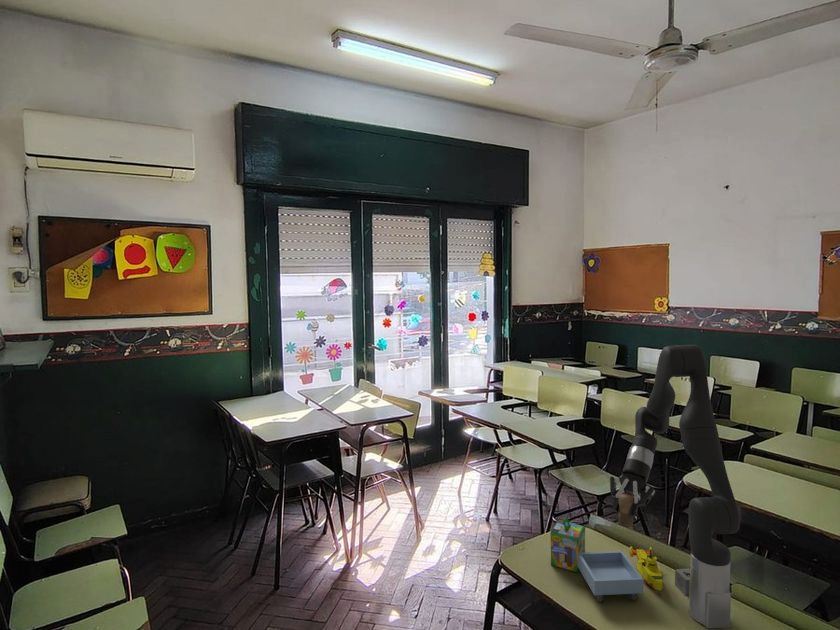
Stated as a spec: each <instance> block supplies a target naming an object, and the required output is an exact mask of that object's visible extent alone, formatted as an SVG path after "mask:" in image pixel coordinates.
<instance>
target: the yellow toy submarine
mask: <svg viewBox="0 0 840 630" xmlns="http://www.w3.org/2000/svg"><path fill="white" fill-rule="evenodd" d="M648 548H649V549H648ZM648 548H644V547H639V549H638V548H636V549H635V550H634V548H633V546H630V547H629V556H630V557H631V558H632V557H634V556H636V559H637V563H636V565H637V566H636V569H637V571H638V572H639V574H640V575H641V576H642V578H643V579H644V583H646V584H647V585H648V586H650V587H651V588H653V590H656V591H662V589H663V585H664V579H663V578H664V577H663V576H664V575H663V574H662V572H661V570H660V568H659V567H658V564H657V562H656V561H657V560H658V558H657V556H654V551H653V548H652V547H651V546H650V547H648Z"/></svg>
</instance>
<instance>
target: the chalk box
mask: <svg viewBox="0 0 840 630" xmlns="http://www.w3.org/2000/svg"><path fill="white" fill-rule="evenodd" d="M583 552H586V526H584V525H580V524H577V523H574V522H570V519H569V516H568V515H567V514H566V516H564V519H563V520H560V519H558V520H557V521H556V523H555V524H554V526H553V527H552V529H551V530H550V565H551V566H552V567H557V568H560V569H564V570H567V571H571V572H574V573H577V574H579V573H581V571H580V569H579V568H578V566H577V553H583Z"/></svg>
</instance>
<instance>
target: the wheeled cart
mask: <svg viewBox="0 0 840 630" xmlns="http://www.w3.org/2000/svg"><path fill="white" fill-rule="evenodd" d="M577 566H578V568H579V569H580V573H581V575H582V576H583V579H584V581H585V582H586V583H587V585H588V587H589V588H590V590H591V593H593V595H594V596H595V599H596V601H597V602H600V603H601V602H604V596H609V595H628V596H627V597H628V599H629V600H630V601H637V599H638V598H637V597H638V595H637V594H644V586H645V584H644V583H645V581H644V579H643V578H642V576H641V575H640V573H639V572H638V569H637V567H635V566H634V564H633V563H632V561H630V559H629V558H628V556H627V555H626V554H625V552H623V550H615V551H613V550H612V551H592V552H591V551H589V552H588V551H587V552H586V551H585V552H583V553H577Z"/></svg>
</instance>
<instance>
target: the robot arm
mask: <svg viewBox="0 0 840 630" xmlns="http://www.w3.org/2000/svg"><path fill="white" fill-rule="evenodd" d="M685 377H689V380H690V382H689V383H690V393H689V398H688V399H687V403H686V405H685V406H684V409H683V411H682V413H681V415H680V418H679V421H678V425H679V430H680V431H679V432H680V437H681V443H682V446H683V449H684V450H685V453H686V454H687V455H688V456H689V458H691V459H690V460H692V461H693V462H694V464H695V465H696V466H697V467H698V468H699V470H700V471H701V472H702V473H703V474H704V476H705V478H706V479H707V483H709V487H710V489H711V490H710V491H711V494H712V495H711V496H705V497H703V496H702V497H694V498H691V500H690V501H689V504H688V538H689V544H690V545H689V546H690V565H689V567H690V592H689V596H688V598H689V600H688V612H689V614H690V616H691V617H692V618H693V620H694V621H696V622H698V623H699V624H701V625H703V626H705V628H707V629H726V628H729V629H730V628H731V611H732V610H731V609H732V608H731V607H732V605H731V603H732V593H731V592H730V584H731V583H730V581H731V562H732V561H731V559H732V557H731V556H732V554H731V553H732V552H731V550H730V549H729V547H728V546H726V545H725V544H724V543H722V542H721V541H719V540H717V539H715V538H713V535H728V534H730V535H732V534H736V533H738V532H739V530H740V526H741V518H740V513H739V508H738V506H737V505H738V504H737V502H736V499H735V495H734V492H733V490H732V486H731V483H730V480H729V477H728V472H727V468H726V464H725V461H724V456H723V451H722V446H721V440H720V435H719V431H718V426H717V423H716V418H715V414H714V410H713V406H712V405H713V404H712V401H711V397H710V396H711V395H710V389H709V381H708V371H707V365H706V359H705V355H704V352H703V351H702V349H701V347H700V346H699V345H697V344H678V345H677V344H676V345H667V346H664V348H662V350H661V351H660V353H659V356H658V359H657V366H656V371H655V376H654V381H653V382H654V383H653V388H652V390H651V393H650V395H649V398H648V400H647V401H646V406H641V407H639V408H638V409H637V410H636V412H635V414H634V416H635V419H634V423H635V425H634V426H635V428H634V429H635V431H634V432H635V433H634V437H633V441H632V444H631V446H630V447H631V448H630V449H629V451H628V453H627V457H626V460H625V464H624V466H623V469H622V472H621V475H620V476H619V477H614V476H610V477H609V482H610V483H609V488H610V489H609V490H610V495H611V496H612V498H614V501H613V505H612V508H613V511H614V512H615V513H619V494H620V493H629V494H631V495H633V504H632V506H631V510H630V513H629V515H630V517H633V518H634V517H635V516H637V515H638V510H639V507H644V508H645V507H646V506H647V505H648V504H649V502H651V500H652V499H653V497H654V495H655V494H656V491H655V489H654V487H652V486H651V487H650V486H649V485H648V480H649V476H650V473H651V470H652V467H653V463H654V456H655V454H656V450H657V447H658V439H657V437H655V436H654V435H653V434H651V433H649V431H650V432H653V433H655V434H659V435H660V434H665V433H666V432H667V430H668V429H669V427H670V413H671V410H672V408H673V406H674V405H675V404H674V403H675V402H676V401H675V400H676V392H675V390H674V387H673V385H672V384H671V383H670V380H671V379H672V378H685ZM619 483H620V487H619V488H618V490H617V486H618V485H619ZM644 491H645V494H644V495H643V496H642V497H641V493H642V492H644Z"/></svg>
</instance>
